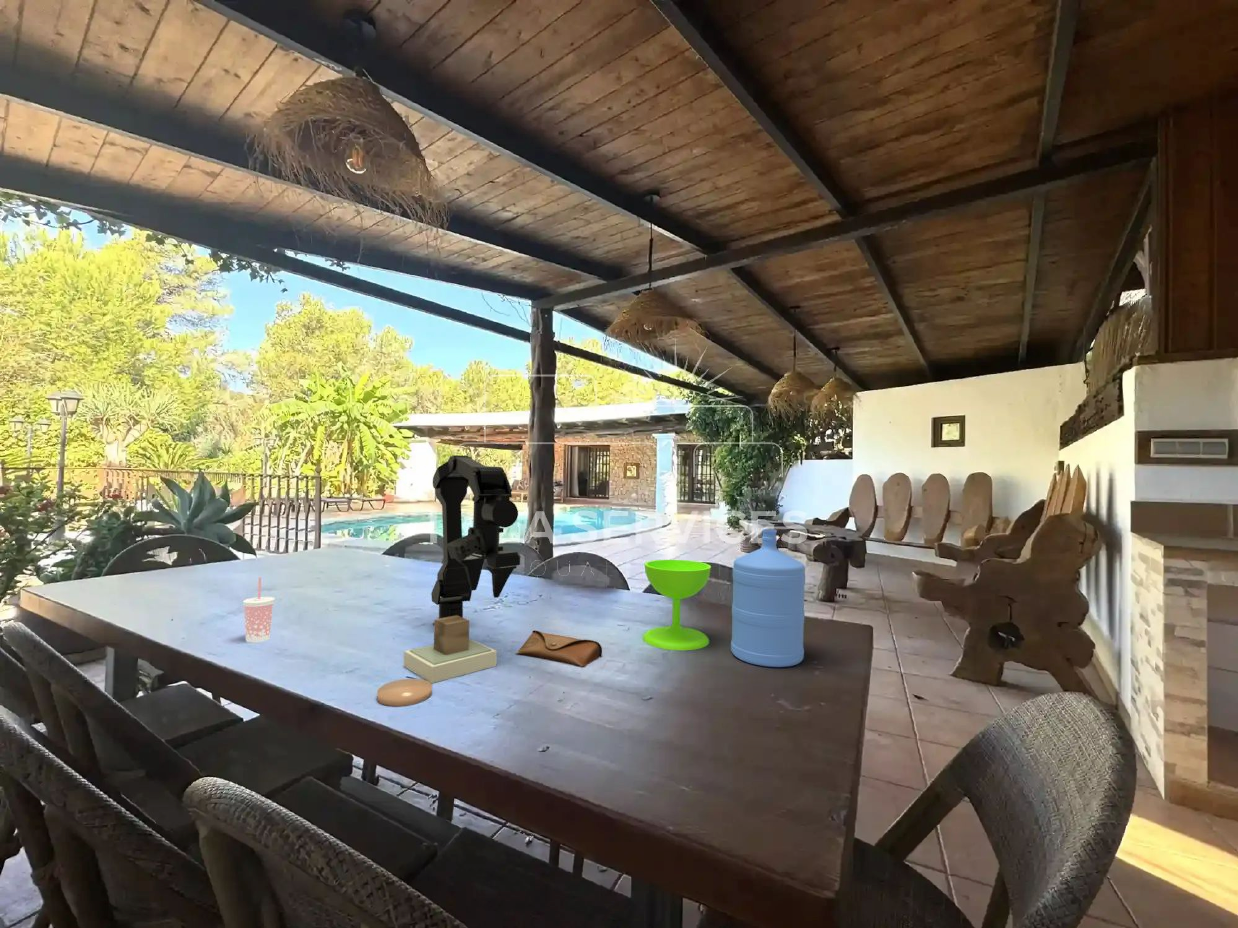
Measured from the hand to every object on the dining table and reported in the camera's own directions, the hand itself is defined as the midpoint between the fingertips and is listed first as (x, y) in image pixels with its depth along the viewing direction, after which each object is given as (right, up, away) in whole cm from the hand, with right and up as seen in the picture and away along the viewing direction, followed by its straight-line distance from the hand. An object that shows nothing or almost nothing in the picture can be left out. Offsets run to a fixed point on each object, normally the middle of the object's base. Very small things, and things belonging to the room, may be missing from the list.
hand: (484, 593), depth 122 cm
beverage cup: (-53, -12, +4) cm, 54 cm away
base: (-4, -12, -10) cm, 16 cm away
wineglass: (+43, -14, +11) cm, 47 cm away
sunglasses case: (+16, -14, -2) cm, 21 cm away
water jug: (+63, -14, +1) cm, 64 cm away
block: (-4, -9, -10) cm, 14 cm away
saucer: (-8, -12, -25) cm, 29 cm away
